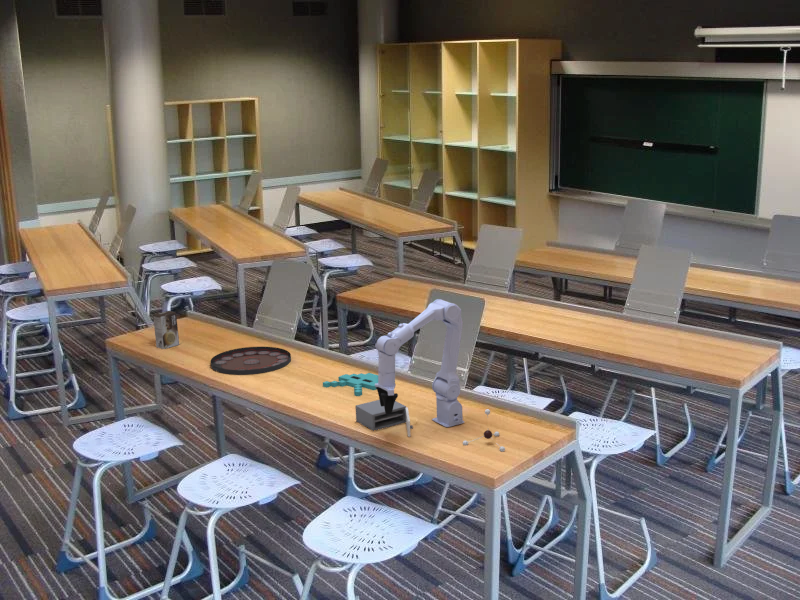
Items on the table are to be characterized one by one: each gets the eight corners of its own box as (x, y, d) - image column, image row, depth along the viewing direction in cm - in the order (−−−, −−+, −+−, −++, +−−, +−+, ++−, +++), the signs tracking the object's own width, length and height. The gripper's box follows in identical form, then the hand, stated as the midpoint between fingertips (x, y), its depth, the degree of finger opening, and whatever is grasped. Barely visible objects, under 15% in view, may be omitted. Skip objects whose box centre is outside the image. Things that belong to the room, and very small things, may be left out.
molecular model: (461, 445, 308) (460, 410, 305) (497, 435, 316) (496, 400, 313) (485, 458, 297) (485, 421, 294) (521, 447, 305) (521, 411, 302)
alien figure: (358, 397, 358) (392, 384, 372) (358, 392, 358) (392, 378, 372) (322, 387, 371) (357, 374, 386) (322, 382, 371) (357, 369, 385)
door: (411, 421, 329) (410, 406, 328) (413, 436, 316) (412, 421, 314) (405, 421, 329) (405, 407, 328) (407, 436, 316) (407, 421, 314)
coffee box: (171, 342, 442) (168, 310, 438) (179, 344, 438) (176, 312, 434) (155, 347, 435) (152, 314, 432) (163, 349, 431) (160, 316, 427)
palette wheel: (197, 363, 409) (196, 357, 409) (265, 347, 430) (265, 341, 430) (235, 381, 383) (235, 375, 382) (306, 363, 404) (305, 357, 403)
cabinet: (406, 422, 329) (406, 406, 328) (373, 431, 322) (372, 414, 321) (389, 412, 339) (388, 397, 338) (356, 421, 332) (355, 405, 331)
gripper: (371, 365, 318) (370, 403, 320) (379, 377, 304) (379, 417, 307) (391, 365, 319) (390, 402, 322) (400, 376, 305) (399, 415, 308)
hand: (386, 409), depth 314 cm, fingers open, 7 cm apart
